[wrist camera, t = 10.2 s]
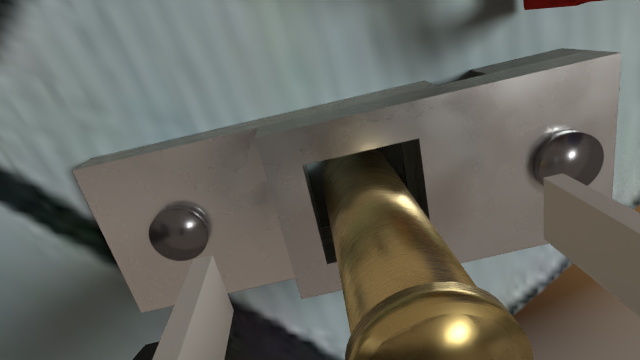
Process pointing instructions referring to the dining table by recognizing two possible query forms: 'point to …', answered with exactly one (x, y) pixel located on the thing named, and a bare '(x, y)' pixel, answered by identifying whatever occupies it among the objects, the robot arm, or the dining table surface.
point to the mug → (552, 3)
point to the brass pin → (406, 275)
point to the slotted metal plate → (347, 138)
